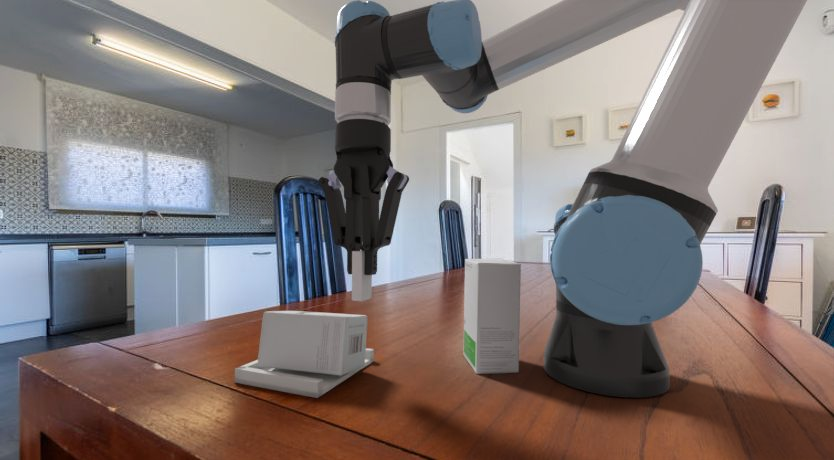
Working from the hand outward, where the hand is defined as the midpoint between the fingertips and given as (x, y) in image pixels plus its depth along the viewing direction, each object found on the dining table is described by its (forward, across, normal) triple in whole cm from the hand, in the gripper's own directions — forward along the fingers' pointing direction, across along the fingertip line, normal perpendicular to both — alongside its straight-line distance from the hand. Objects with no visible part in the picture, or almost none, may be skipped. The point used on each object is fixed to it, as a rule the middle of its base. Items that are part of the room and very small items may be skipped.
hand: (361, 299), depth 48 cm
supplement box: (+6, +1, 0) cm, 6 cm away
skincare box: (+11, -15, -12) cm, 22 cm away
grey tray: (+11, +8, 0) cm, 14 cm away
